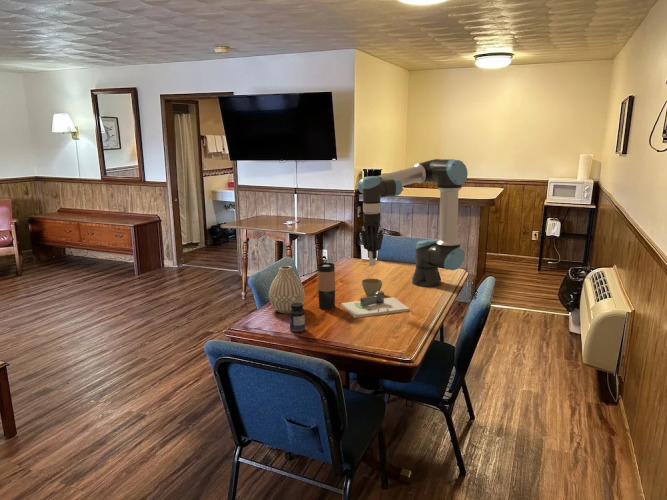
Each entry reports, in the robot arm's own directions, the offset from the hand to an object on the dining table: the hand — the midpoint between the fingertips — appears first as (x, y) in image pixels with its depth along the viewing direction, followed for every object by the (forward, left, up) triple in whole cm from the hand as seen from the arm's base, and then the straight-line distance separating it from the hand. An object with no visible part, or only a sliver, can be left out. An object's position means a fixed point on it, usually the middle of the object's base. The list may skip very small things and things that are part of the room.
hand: (372, 265), depth 214 cm
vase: (+37, -10, -20) cm, 43 cm away
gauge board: (-1, 0, -20) cm, 20 cm away
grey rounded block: (0, -1, -18) cm, 18 cm away
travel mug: (+19, -8, -20) cm, 29 cm away
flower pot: (-7, -18, -20) cm, 28 cm away
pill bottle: (+38, +15, -20) cm, 45 cm away
